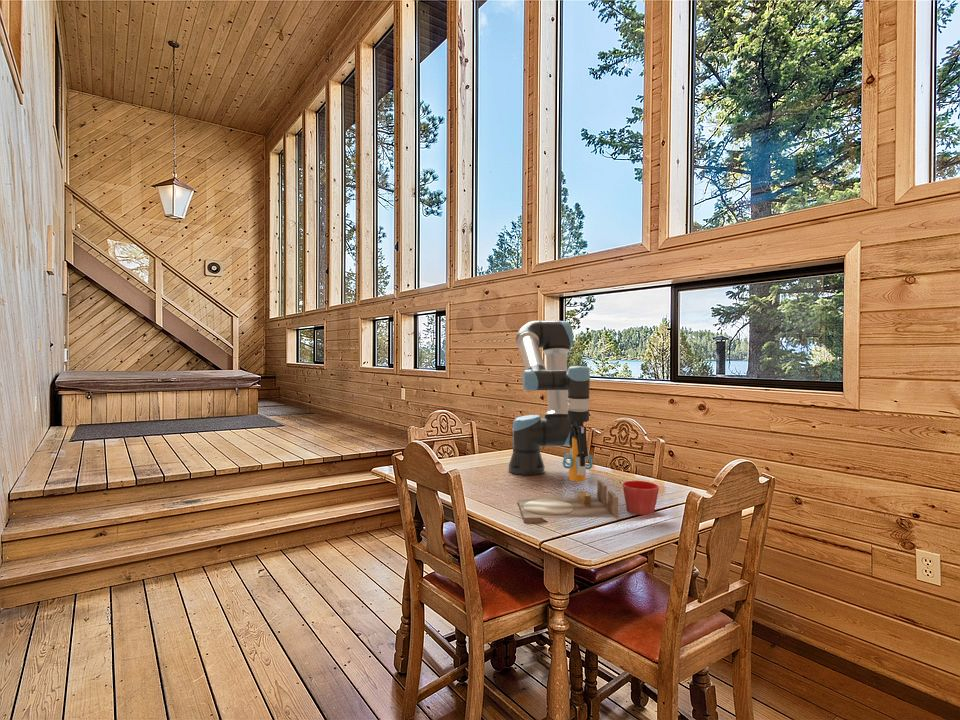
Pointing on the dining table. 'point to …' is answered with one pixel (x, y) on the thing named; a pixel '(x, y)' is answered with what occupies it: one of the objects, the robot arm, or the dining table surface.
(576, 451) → the cylinder
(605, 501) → the board
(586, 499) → the wooden block
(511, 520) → the dining table surface
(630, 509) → the flower pot
